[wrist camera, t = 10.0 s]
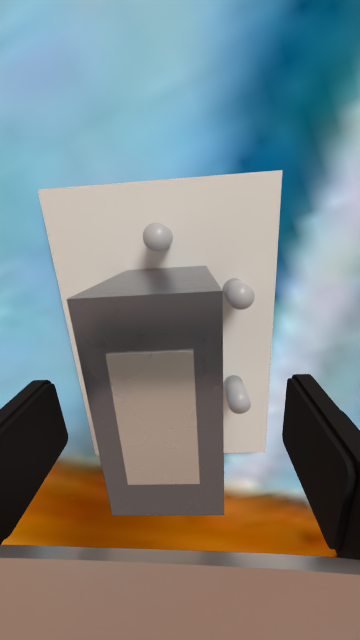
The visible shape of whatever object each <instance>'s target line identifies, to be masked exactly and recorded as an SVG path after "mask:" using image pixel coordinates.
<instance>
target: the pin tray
mask: <svg viewBox="0 0 360 640" xmlns="http://www.w3.org/2000/svg"><path fill="white" fill-rule="evenodd" d="M281 183H282V170H279V171H267V172H254V173H241V174H229V175H216V176H203V177H191V178H178V179H165V180H152V181H140V182H127V183H114V184H102V185H89V186H76V187H64V188H51V189H38V194H39V198H40V203H41V207H42V212H43V217H44V221H45V226H46V230H47V235H48V239H49V244H50V249H51V253H52V258H53V262H54V267H55V271H56V276H57V281H58V285H59V290H60V294H61V299H62V303H63V308H64V313H65V317H66V322H67V326H68V331H69V335H70V340H71V345H72V349H73V354H74V358H75V363H76V367H77V372H78V377H79V381H80V386H81V390H82V395H83V399H84V404H85V409H86V413H87V418H88V422H89V427H90V431H91V436H92V441H93V445H94V450H95V454H96V455H99V451H98V446H97V441H96V436H95V432H94V427H93V422H92V417H91V413H90V408H89V403H88V399H87V394H86V389H85V384H84V380H83V375H82V370H81V365H80V361H79V356H78V351H77V346H76V342H75V337H74V332H73V328H72V323H71V318H70V313H69V309H68V304H67V299H68V298H70V297H72V296H74V295H76V294H78V293H80V292H82V291H84V290H86V289H89V288H91V287H93V286H95V285H97V284H99V283H101V282H103V281H105V280H107V279H109V278H111V277H114V276H116V275H118V274H120V273H122V272H124V271H126V270H138V269H155V268H172V267H189V266H206V267H207V268H208V270H209V271H210V273H211V274H212V276H213V277H214V279H215V280H216V282H217V283H218V285H219V286H220V288H221V289H222V291H223V430H224V453H251V452H265V447H266V431H267V414H268V398H269V381H270V365H271V348H272V332H273V315H274V299H275V282H276V266H277V249H278V233H279V216H280V200H281Z"/></svg>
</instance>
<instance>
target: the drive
mask: <svg viewBox="0 0 360 640" xmlns="http://www.w3.org/2000/svg"><path fill="white" fill-rule="evenodd" d="M67 304H68V309H69V313H70V318H71V323H72V328H73V332H74V337H75V342H76V346H77V351H78V356H79V361H80V365H81V370H82V375H83V380H84V384H85V389H86V394H87V399H88V403H89V408H90V413H91V417H92V422H93V427H94V432H95V436H96V441H97V446H98V451H99V455H100V460H101V465H102V469H103V474H104V479H105V484H106V488H107V493H108V498H109V503H110V507H111V512H112V516H148V515H224V430H223V291H222V289H221V288H220V286H219V285H218V283H217V282H216V280H215V279H214V277H213V276H212V274H211V273H210V271H209V270H208V268H207V267H206V266H189V267H172V268H155V269H138V270H126V271H124V272H122V273H120V274H118V275H116V276H114V277H111V278H109V279H107V280H105V281H103V282H101V283H99V284H97V285H95V286H93V287H91V288H89V289H86V290H84V291H82V292H80V293H78V294H76V295H74V296H72V297H70V298H68V299H67Z"/></svg>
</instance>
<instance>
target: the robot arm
mask: <svg viewBox="0 0 360 640" xmlns="http://www.w3.org/2000/svg"><path fill="white" fill-rule="evenodd" d="M282 437H283V442H284V445H285V448H286V450H287V452H288V455H289V457H290V459H291V462H292V464H293V466H294V469H295V471H296V473H297V476H298V478H299V480H300V483H301V485H302V487H303V490H304V492H305V494H306V497H307V499H308V501H309V504H310V506H311V508H312V511H313V513H314V515H315V518H316V520H317V522H318V525H319V527H320V529H321V531H322V534H323V536H324V538H325V541H326V543H327V545H328V546H329V548H330V549H335V550H336V553H337V555H338V557H339V558H337V557H319V556H302V555H285V554H267V553H241V552H215V551H189V550H161V549H130V548H99V547H66V546H27V545H1V543H2V542H3V540H4V539H6V538H8V537H9V536H10V534H11V533H12V531H13V530H14V528H15V527H16V525H17V523H18V522H19V520H20V519H21V517H22V515H23V514H24V512H25V510H26V509H27V507H28V506H29V504H30V502H31V501H32V499H33V498H34V496H35V494H36V493H37V491H38V489H39V488H40V486H41V485H42V483H43V481H44V480H45V478H46V477H47V475H48V473H49V472H50V470H51V468H52V467H53V465H54V464H55V462H56V460H57V459H58V457H59V456H60V454H61V452H62V451H63V449H64V447H65V446H66V444H67V441H68V433H67V430H66V426H65V422H64V418H63V415H62V411H61V407H60V403H59V400H58V396H57V392H56V388H55V385H54V384H51V382H50V381H49V380H35V381H32V382H31V383H29V384H28V385H27V386H26V387H25V388H24V389H23V390H22V391H20V392H19V393H18V394H17V395H16V396H15V397H14V398H13V399H11V400H10V401H9V402H8V403H7V404H6V405H5V406H4V407H2V408H1V409H0V640H360V430H359V429H358V428H357V427H356V426H355V424H354V423H353V422H352V421H351V420H350V419H349V417H348V416H347V415H346V414H345V413H344V412H343V411H341V410H340V409H339V408H338V407H337V406H336V404H335V403H334V402H333V401H332V400H331V398H330V397H329V396H328V395H327V394H326V392H325V391H324V390H323V389H322V388H321V386H320V385H319V384H318V383H317V382H316V381H315V379H314V378H313V377H312V376H311V375H310V374H296V375H293V376H292V378H289V379H288V380H287V389H286V400H285V411H284V422H283V433H282Z"/></svg>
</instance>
